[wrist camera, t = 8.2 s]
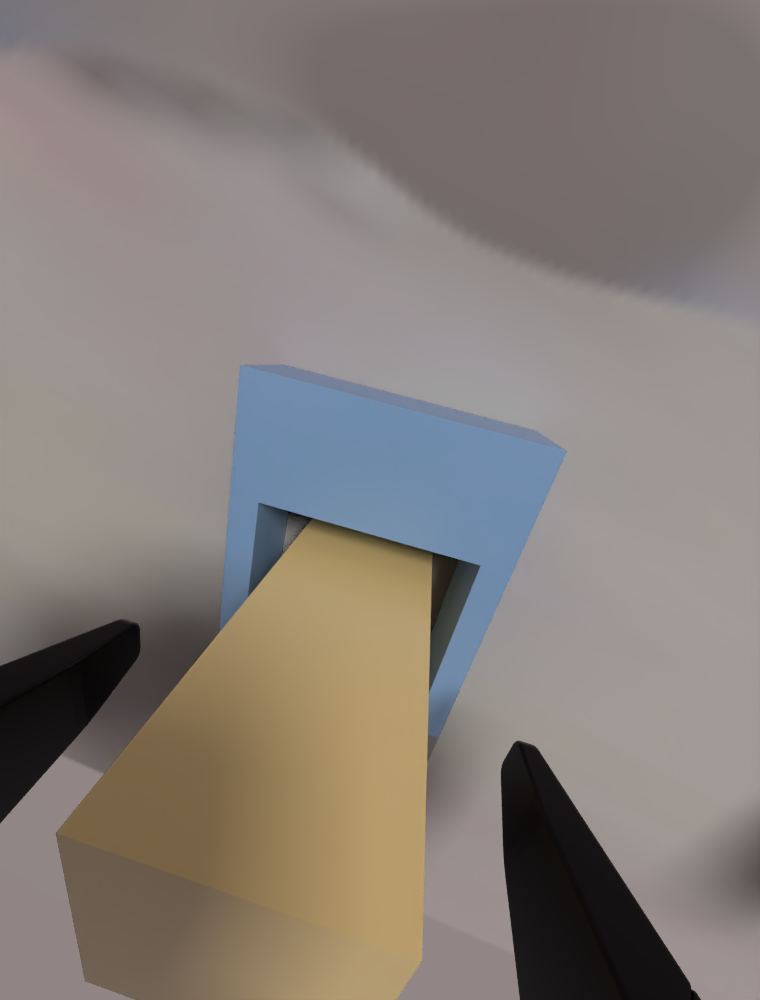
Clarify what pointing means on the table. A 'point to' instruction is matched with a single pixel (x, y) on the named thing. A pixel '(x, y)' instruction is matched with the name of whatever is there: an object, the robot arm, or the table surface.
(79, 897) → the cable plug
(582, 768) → the table surface
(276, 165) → the table surface
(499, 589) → the duct block
